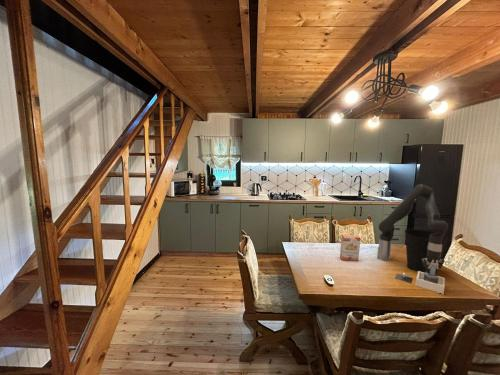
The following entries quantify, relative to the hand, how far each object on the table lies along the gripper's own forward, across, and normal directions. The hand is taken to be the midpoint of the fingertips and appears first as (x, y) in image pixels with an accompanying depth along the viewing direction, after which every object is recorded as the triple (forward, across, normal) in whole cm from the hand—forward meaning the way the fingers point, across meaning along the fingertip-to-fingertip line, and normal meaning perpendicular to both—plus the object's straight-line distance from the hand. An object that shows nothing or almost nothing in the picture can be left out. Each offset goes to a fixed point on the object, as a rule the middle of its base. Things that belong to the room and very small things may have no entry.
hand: (431, 273), depth 164 cm
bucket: (+10, -10, -27) cm, 30 cm away
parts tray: (+10, 0, 0) cm, 10 cm away
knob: (+7, 0, 0) cm, 7 cm away
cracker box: (+10, +42, -38) cm, 57 cm away
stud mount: (+10, +13, -8) cm, 18 cm away
